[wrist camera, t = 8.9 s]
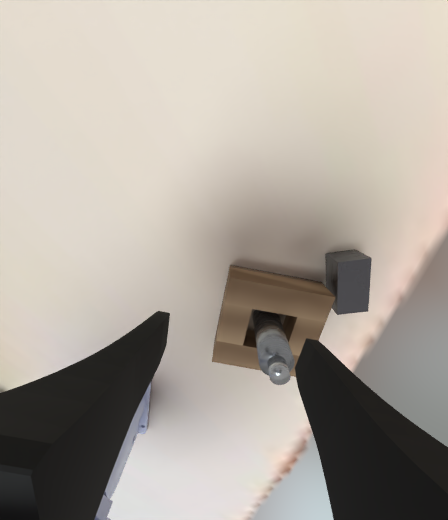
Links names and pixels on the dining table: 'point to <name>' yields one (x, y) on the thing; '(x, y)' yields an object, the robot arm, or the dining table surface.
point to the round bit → (272, 347)
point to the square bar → (348, 280)
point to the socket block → (271, 300)
